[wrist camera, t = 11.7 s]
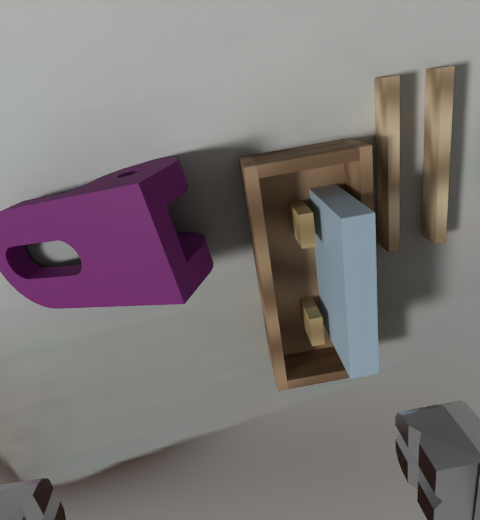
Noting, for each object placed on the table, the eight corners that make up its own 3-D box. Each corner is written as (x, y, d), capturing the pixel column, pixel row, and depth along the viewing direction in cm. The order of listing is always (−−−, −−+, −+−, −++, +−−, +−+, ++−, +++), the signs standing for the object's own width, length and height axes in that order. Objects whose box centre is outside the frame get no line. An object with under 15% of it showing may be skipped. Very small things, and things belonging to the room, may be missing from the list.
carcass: (238, 157, 35) (243, 167, 31) (350, 137, 35) (372, 145, 31) (270, 359, 44) (278, 390, 40) (359, 342, 44) (377, 372, 40)
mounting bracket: (82, 265, 44) (226, 252, 37) (22, 309, 38) (184, 304, 30) (42, 184, 41) (195, 150, 33) (-32, 216, 34) (138, 183, 26)
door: (309, 188, 36) (341, 218, 28) (339, 183, 36) (379, 211, 28) (321, 321, 42) (350, 378, 33) (346, 316, 42) (382, 372, 33)
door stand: (374, 78, 34) (387, 77, 31) (437, 67, 34) (454, 65, 31) (378, 243, 40) (389, 252, 37) (431, 233, 40) (445, 242, 37)
